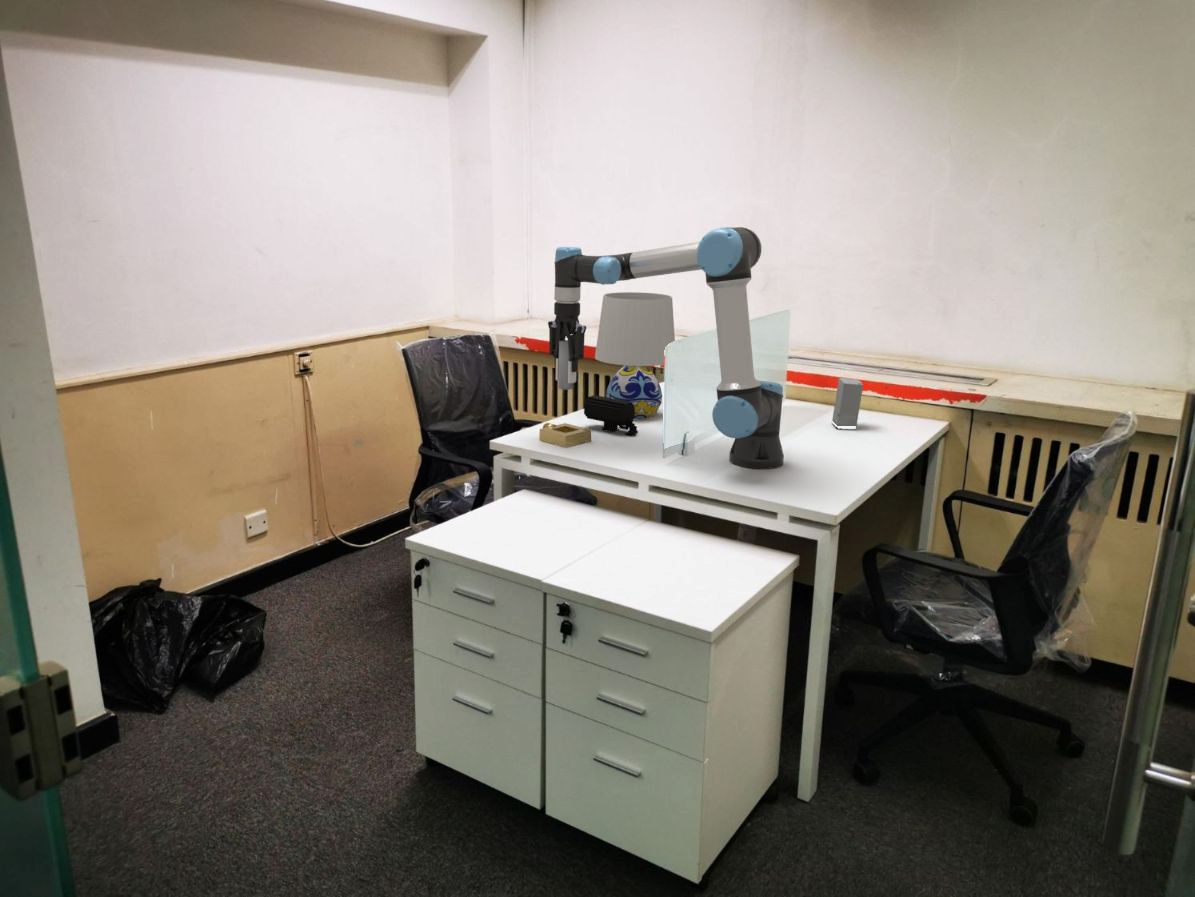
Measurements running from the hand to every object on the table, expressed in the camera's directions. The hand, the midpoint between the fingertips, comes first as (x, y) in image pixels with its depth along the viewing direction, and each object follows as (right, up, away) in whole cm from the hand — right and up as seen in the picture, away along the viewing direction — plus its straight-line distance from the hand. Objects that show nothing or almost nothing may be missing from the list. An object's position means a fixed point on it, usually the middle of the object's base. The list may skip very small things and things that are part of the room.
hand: (565, 380), depth 266 cm
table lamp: (+22, -9, +39) cm, 46 cm away
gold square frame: (-1, -17, +6) cm, 18 cm away
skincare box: (+91, -13, +30) cm, 96 cm away
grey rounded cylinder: (0, -2, +1) cm, 2 cm away
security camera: (+14, -15, +18) cm, 27 cm away
